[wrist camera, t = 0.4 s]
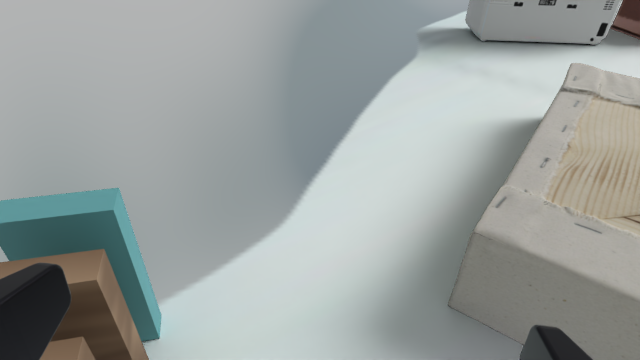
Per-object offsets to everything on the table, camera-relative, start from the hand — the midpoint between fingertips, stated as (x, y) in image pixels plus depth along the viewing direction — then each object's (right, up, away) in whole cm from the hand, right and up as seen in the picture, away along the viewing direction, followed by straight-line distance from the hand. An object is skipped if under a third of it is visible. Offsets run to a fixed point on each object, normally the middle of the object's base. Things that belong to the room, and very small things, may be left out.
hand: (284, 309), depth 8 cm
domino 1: (-11, -7, +17) cm, 22 cm away
